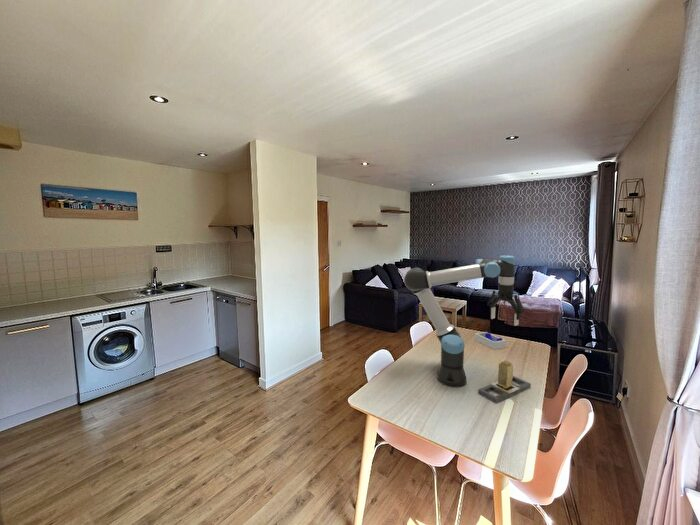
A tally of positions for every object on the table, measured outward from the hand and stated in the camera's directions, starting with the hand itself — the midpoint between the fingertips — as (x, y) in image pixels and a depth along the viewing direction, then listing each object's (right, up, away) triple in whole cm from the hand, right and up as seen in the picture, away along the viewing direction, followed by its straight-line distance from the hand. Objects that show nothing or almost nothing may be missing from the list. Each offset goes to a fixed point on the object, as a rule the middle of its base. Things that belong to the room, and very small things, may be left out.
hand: (504, 321), depth 161 cm
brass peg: (-6, -32, -12) cm, 35 cm away
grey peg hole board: (-6, -32, -12) cm, 35 cm away
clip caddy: (+15, -25, +47) cm, 56 cm away
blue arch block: (+17, -26, +47) cm, 56 cm away
